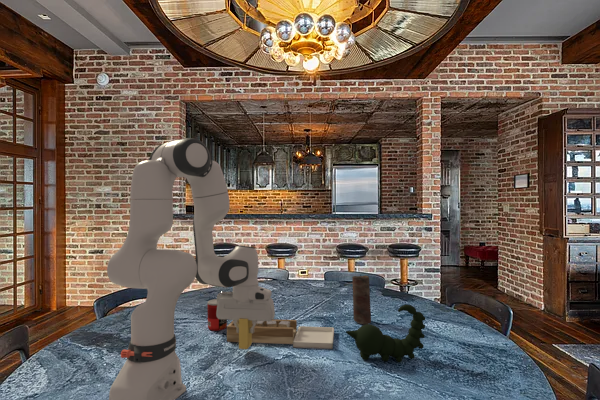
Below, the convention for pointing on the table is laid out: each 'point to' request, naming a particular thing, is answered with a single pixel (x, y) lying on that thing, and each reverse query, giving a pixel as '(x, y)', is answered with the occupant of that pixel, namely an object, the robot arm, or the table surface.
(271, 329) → the open wooden box
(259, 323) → the grey cubic block
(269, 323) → the grey piece
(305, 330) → the tray
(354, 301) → the brown tall block
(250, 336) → the block
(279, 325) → the grey and brown cube
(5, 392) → the table surface
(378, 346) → the toy figurine
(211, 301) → the canned food
